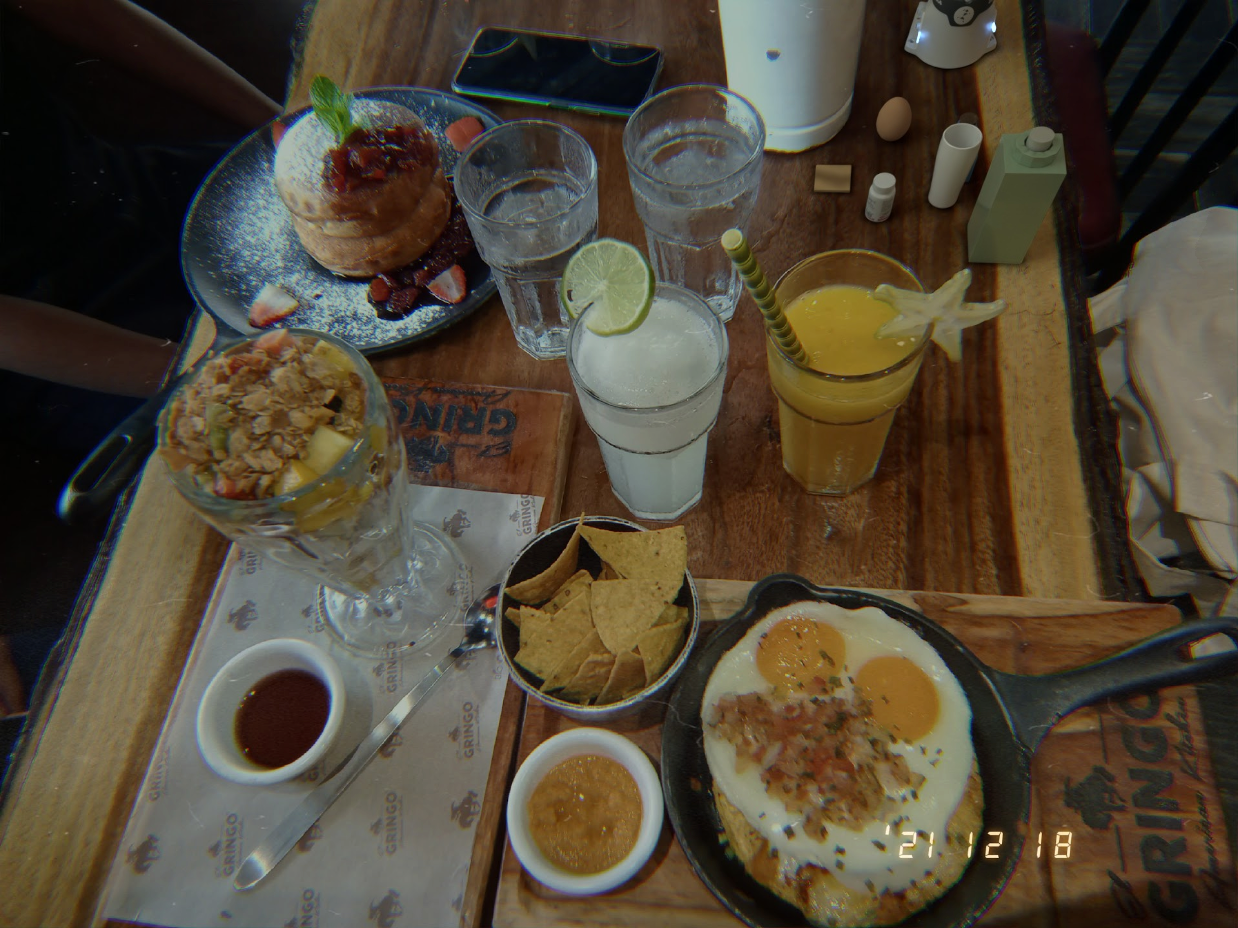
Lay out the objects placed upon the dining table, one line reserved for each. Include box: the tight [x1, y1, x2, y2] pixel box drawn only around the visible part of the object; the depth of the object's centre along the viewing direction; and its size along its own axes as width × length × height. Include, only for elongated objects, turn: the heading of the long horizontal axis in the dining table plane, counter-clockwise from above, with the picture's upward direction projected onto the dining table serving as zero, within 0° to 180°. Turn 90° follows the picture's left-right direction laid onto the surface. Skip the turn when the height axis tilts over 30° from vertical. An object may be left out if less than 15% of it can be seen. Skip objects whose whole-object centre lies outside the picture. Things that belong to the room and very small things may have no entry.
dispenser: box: [966, 128, 1068, 265], centre depth 126 cm, size 9×9×23 cm
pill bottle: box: [864, 172, 897, 223], centre depth 140 cm, size 5×5×8 cm
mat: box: [813, 164, 852, 193], centre depth 149 cm, size 7×7×1 cm
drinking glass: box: [927, 122, 983, 209], centre depth 136 cm, size 7×7×15 cm
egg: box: [875, 96, 913, 142], centre depth 148 cm, size 7×7×9 cm
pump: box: [1025, 125, 1055, 152], centre depth 116 cm, size 4×4×2 cm
